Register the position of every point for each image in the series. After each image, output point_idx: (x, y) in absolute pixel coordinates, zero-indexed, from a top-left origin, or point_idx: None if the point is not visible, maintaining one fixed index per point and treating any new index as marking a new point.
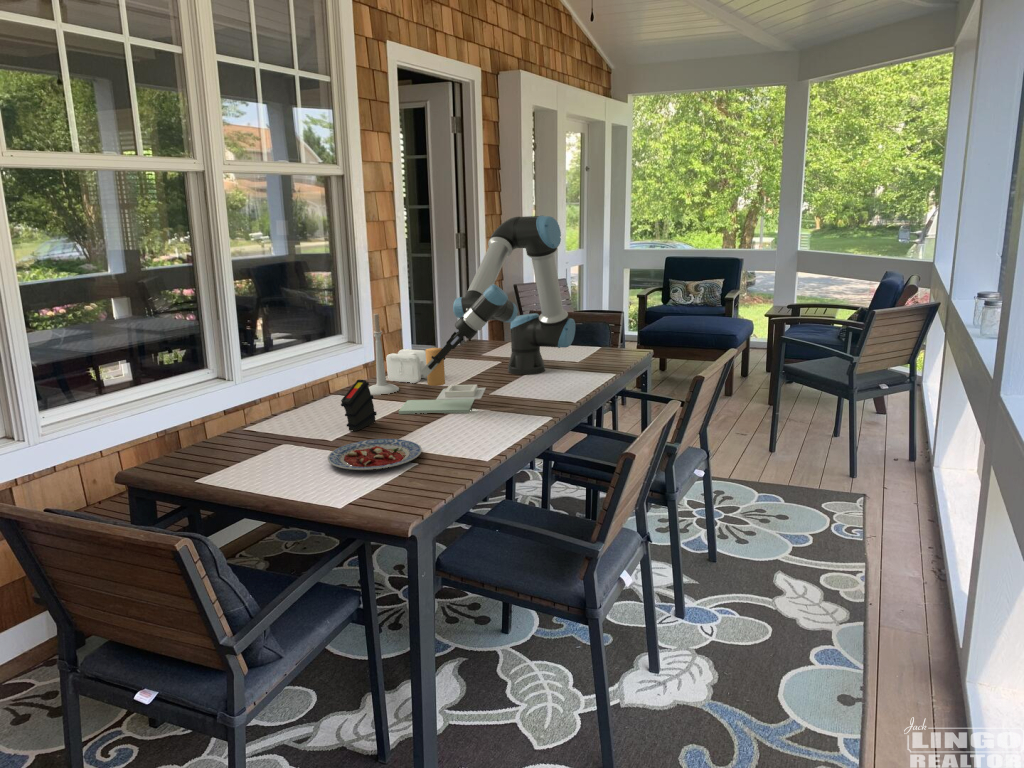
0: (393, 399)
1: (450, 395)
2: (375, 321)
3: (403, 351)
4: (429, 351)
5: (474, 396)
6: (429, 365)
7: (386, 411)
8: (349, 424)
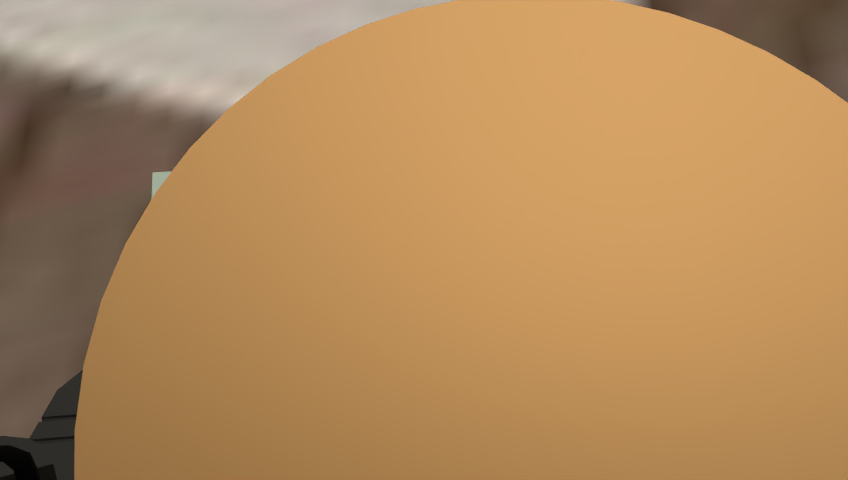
0: (687, 8)
1: None
2: None
3: None
4: (123, 253)
5: None
6: (50, 417)
7: (274, 57)
8: None
